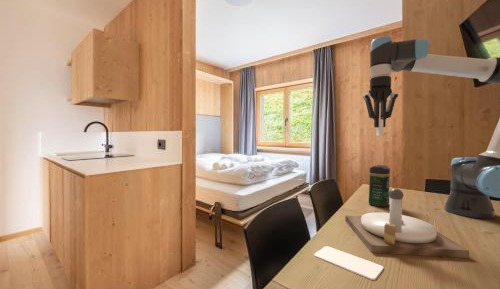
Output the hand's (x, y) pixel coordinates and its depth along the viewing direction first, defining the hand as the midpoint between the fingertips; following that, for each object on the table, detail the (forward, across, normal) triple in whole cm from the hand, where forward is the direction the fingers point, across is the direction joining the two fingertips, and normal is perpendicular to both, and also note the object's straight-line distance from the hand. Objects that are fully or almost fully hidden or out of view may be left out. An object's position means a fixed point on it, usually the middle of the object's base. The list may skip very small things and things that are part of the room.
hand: (379, 135), depth 93 cm
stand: (+32, +4, +22) cm, 39 cm away
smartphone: (+33, +24, +40) cm, 57 cm away
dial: (+30, +4, +22) cm, 37 cm away
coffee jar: (+33, -6, -14) cm, 36 cm away
